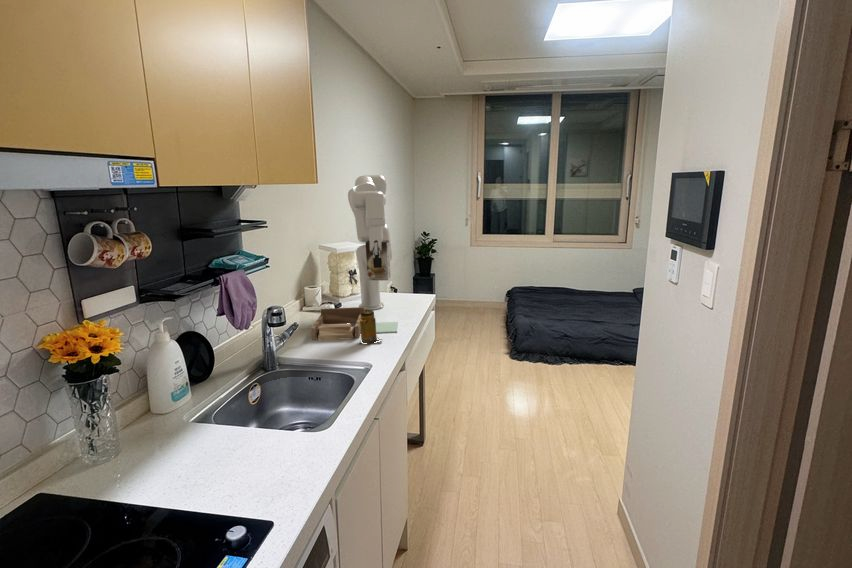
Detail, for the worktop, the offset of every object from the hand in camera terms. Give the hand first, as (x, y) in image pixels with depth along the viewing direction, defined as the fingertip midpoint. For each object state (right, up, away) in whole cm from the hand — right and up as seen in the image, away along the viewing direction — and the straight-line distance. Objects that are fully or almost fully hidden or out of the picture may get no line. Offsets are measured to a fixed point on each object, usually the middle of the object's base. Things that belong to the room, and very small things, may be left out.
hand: (378, 265), depth 183 cm
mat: (+1, -27, +6) cm, 27 cm away
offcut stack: (-17, -30, -3) cm, 34 cm away
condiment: (-2, -30, -9) cm, 32 cm away
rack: (-17, -28, +5) cm, 33 cm away
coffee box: (0, -6, +1) cm, 6 cm away
